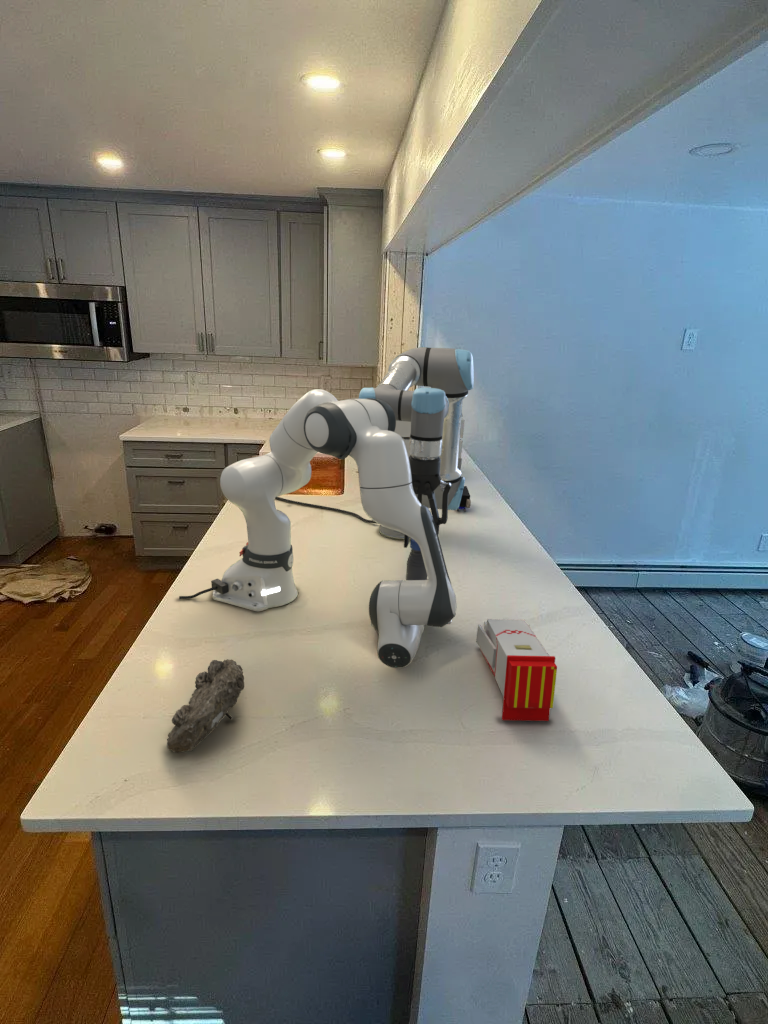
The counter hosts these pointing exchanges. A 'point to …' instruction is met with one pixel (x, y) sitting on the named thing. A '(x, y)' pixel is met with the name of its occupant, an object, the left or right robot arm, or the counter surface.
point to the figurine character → (465, 499)
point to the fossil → (206, 705)
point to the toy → (519, 668)
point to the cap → (414, 545)
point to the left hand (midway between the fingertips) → (415, 592)
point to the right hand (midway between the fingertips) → (418, 546)
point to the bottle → (415, 566)
